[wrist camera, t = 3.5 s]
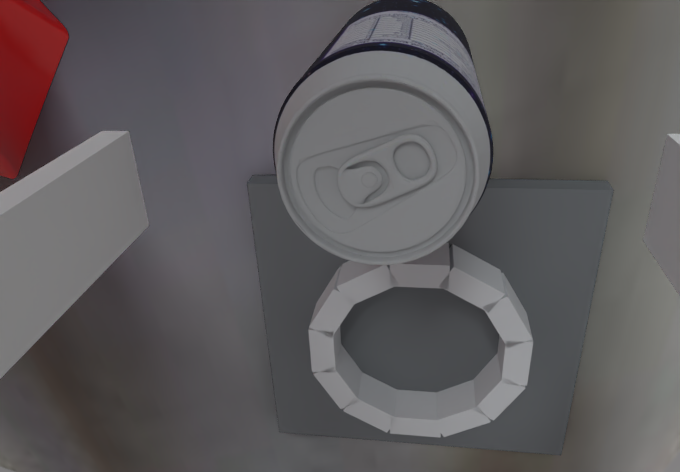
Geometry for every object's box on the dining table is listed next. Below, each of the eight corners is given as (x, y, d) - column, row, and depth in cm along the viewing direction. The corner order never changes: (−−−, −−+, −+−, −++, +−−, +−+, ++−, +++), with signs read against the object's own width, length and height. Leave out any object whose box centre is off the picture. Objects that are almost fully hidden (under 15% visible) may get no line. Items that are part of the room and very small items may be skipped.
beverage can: (310, 35, 24) (215, 124, 14) (436, -35, 22) (437, 8, 12) (371, 152, 26) (329, 306, 16) (491, 97, 24) (533, 232, 14)
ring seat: (283, 419, 35) (271, 459, 33) (252, 175, 28) (233, 201, 25) (557, 441, 33) (568, 486, 30) (607, 180, 25) (627, 210, 23)
